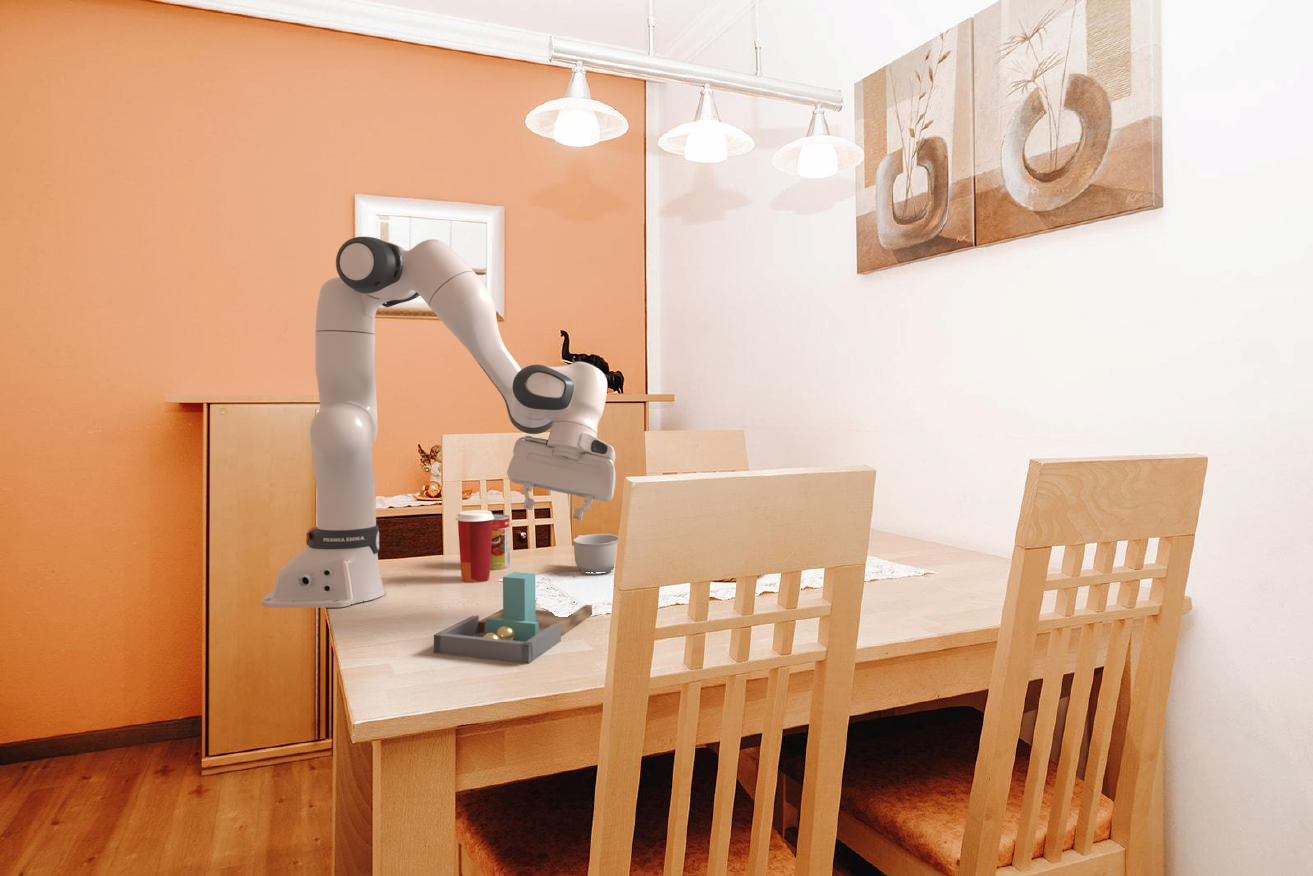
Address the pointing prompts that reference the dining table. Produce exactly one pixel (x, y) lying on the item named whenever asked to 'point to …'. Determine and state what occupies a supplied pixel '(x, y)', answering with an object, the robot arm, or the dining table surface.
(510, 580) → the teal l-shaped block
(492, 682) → the dining table surface
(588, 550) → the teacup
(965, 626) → the dining table surface
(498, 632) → the ball
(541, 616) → the channel
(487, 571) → the coffee cup
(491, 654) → the tray
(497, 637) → the ball
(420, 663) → the dining table surface
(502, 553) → the canned food
